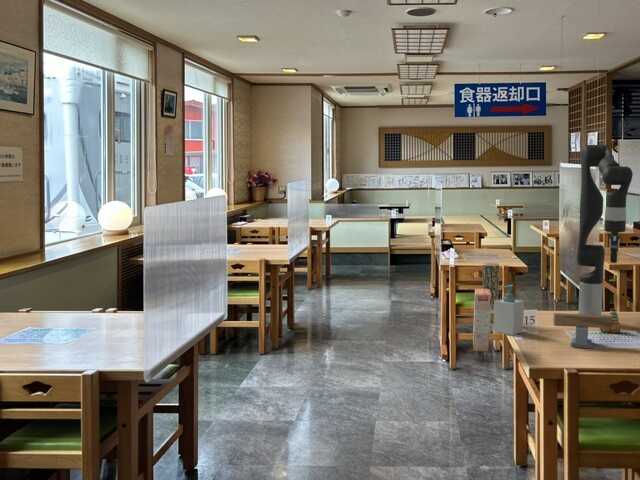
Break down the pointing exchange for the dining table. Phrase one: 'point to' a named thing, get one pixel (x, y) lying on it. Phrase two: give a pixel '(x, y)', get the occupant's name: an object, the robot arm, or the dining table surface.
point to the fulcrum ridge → (581, 338)
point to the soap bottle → (508, 314)
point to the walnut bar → (583, 320)
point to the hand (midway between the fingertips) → (613, 261)
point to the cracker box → (481, 320)
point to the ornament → (613, 323)
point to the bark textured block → (491, 283)
